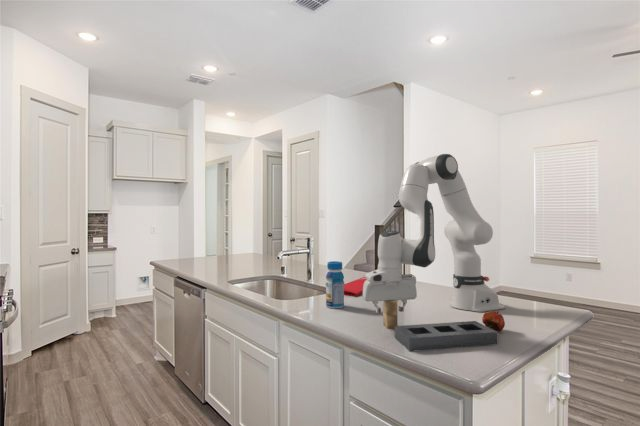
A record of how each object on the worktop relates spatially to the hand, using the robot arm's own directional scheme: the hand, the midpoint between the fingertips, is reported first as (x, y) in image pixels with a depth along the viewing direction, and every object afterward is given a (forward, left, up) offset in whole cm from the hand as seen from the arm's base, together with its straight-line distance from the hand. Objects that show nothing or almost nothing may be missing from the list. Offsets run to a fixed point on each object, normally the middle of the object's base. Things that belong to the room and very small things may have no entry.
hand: (389, 311), depth 136 cm
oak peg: (0, 0, -5) cm, 5 cm away
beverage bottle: (+14, -32, -6) cm, 35 cm away
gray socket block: (-12, +18, -5) cm, 22 cm away
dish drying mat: (-9, -68, -6) cm, 69 cm away
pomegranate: (-34, +12, -6) cm, 37 cm away
